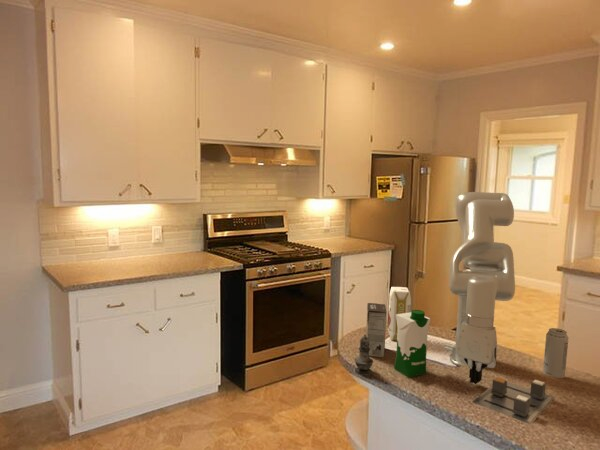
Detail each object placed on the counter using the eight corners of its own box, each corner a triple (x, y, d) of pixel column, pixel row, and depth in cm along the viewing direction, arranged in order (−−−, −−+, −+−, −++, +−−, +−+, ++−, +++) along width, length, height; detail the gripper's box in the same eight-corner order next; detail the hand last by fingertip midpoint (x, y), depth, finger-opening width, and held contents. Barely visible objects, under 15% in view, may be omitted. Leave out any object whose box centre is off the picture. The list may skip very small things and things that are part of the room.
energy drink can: (543, 371, 146) (547, 326, 144) (564, 375, 143) (569, 329, 141) (542, 378, 140) (546, 331, 139) (564, 383, 137) (568, 335, 136)
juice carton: (406, 334, 177) (408, 286, 174) (409, 342, 168) (412, 292, 166) (386, 333, 177) (389, 285, 175) (389, 341, 169) (391, 291, 167)
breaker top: (529, 395, 125) (530, 382, 125) (533, 391, 128) (535, 378, 128) (541, 399, 123) (542, 386, 123) (545, 395, 126) (546, 382, 126)
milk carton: (408, 379, 137) (411, 315, 135) (389, 367, 145) (392, 307, 143) (430, 374, 141) (434, 312, 139) (411, 363, 149) (414, 304, 147)
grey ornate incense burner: (350, 368, 144) (352, 332, 142) (366, 366, 146) (368, 330, 145) (360, 376, 138) (361, 338, 137) (376, 373, 141) (378, 336, 139)
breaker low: (512, 412, 116) (513, 398, 116) (517, 407, 119) (518, 393, 118) (524, 417, 114) (526, 402, 114) (529, 411, 117) (530, 397, 116)
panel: (471, 406, 122) (471, 401, 122) (499, 383, 136) (500, 379, 136) (530, 428, 112) (530, 424, 112) (554, 401, 126) (555, 397, 126)
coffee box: (365, 346, 163) (367, 302, 162) (383, 347, 163) (385, 303, 161) (365, 355, 154) (367, 310, 153) (384, 357, 154) (386, 311, 152)
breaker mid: (491, 393, 126) (492, 379, 126) (496, 388, 129) (497, 375, 129) (502, 396, 124) (503, 383, 124) (506, 392, 127) (508, 379, 126)
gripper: (448, 317, 132) (444, 377, 134) (501, 330, 121) (496, 395, 123) (460, 312, 137) (456, 370, 139) (511, 324, 127) (506, 386, 129)
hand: (475, 381), depth 131 cm, fingers closed
